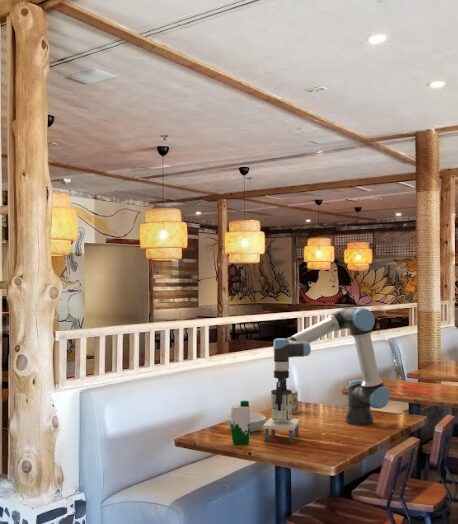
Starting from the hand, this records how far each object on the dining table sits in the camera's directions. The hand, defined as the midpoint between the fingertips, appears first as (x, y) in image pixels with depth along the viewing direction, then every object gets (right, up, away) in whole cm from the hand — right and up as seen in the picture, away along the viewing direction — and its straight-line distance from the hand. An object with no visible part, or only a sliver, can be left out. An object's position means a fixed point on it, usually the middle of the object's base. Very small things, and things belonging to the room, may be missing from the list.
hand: (281, 414), depth 302 cm
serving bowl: (-17, -13, +17) cm, 27 cm away
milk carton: (-21, -12, -9) cm, 25 cm away
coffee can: (0, -2, 0) cm, 2 cm away
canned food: (+9, -14, +63) cm, 66 cm away
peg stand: (0, -12, 0) cm, 12 cm away
